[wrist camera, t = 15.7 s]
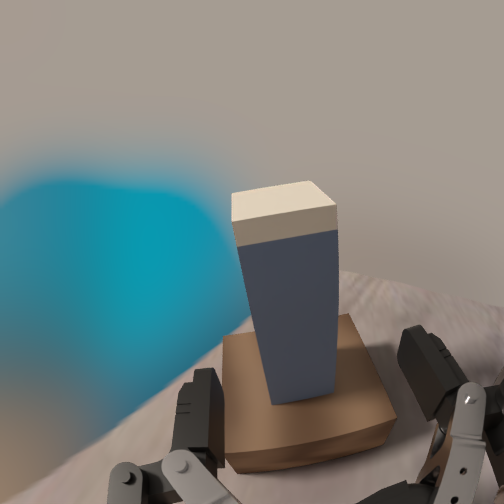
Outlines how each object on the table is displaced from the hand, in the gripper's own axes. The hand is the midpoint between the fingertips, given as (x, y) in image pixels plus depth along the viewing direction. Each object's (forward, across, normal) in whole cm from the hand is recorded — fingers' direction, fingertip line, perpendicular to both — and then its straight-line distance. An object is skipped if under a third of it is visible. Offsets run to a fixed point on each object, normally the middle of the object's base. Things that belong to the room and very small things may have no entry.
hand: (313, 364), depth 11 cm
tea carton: (+6, 0, +9) cm, 11 cm away
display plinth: (+6, 0, +14) cm, 15 cm away
